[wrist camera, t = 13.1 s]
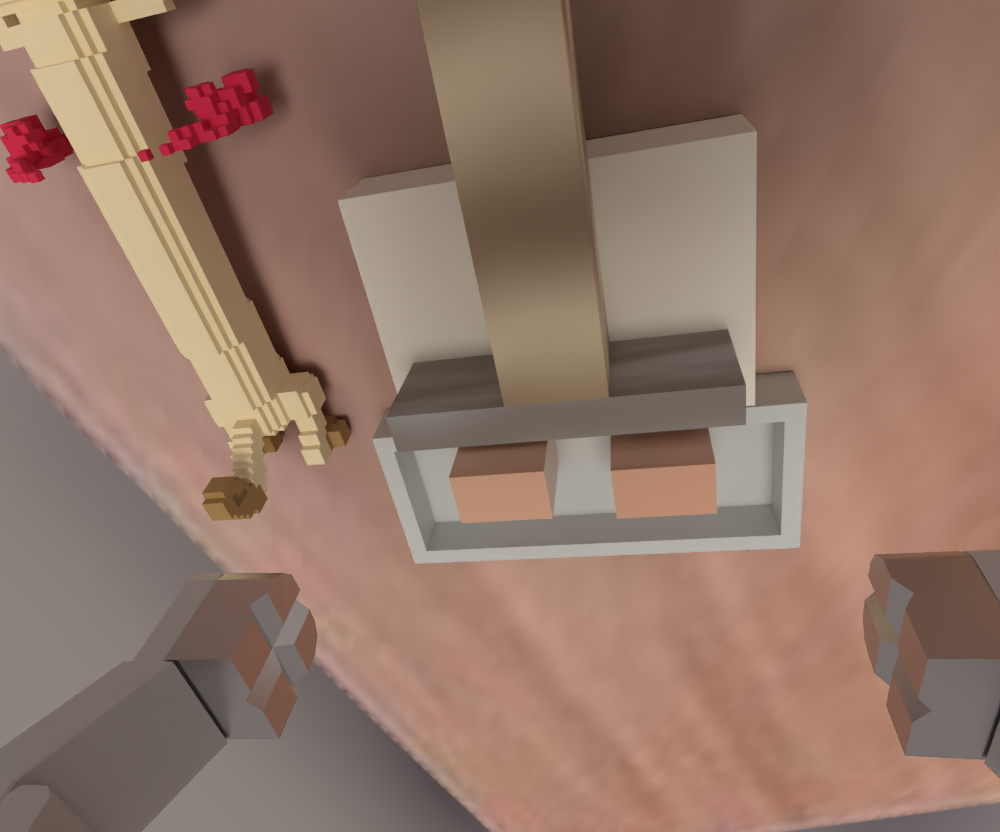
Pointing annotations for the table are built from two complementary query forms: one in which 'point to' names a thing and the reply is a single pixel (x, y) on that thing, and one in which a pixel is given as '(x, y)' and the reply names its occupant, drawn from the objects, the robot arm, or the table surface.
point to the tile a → (505, 481)
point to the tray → (590, 499)
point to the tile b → (663, 474)
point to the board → (620, 234)
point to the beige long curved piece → (165, 219)
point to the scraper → (540, 257)
